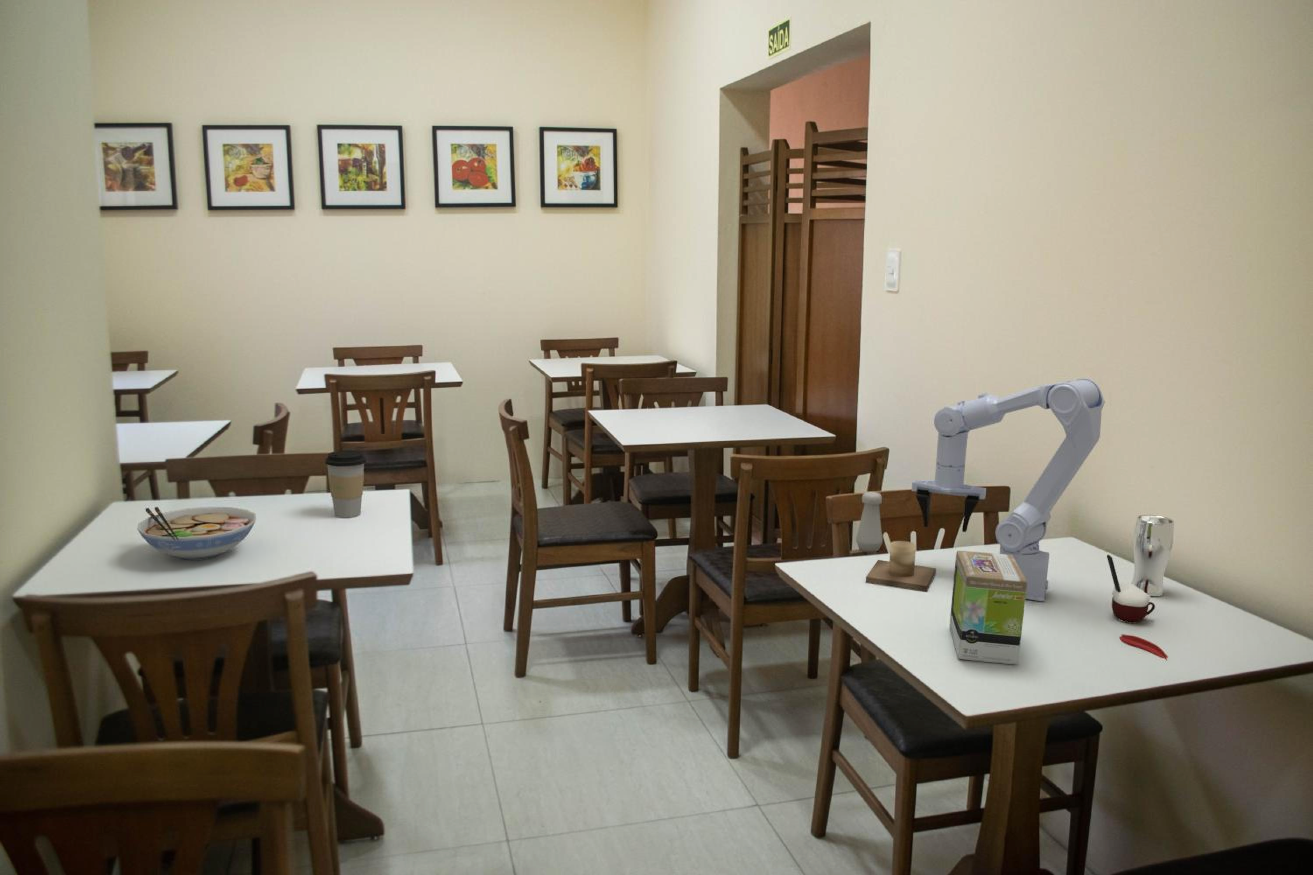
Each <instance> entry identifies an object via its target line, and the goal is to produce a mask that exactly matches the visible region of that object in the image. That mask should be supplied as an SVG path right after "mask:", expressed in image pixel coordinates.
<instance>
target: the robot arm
mask: <svg viewBox="0 0 1313 875" xmlns="http://www.w3.org/2000/svg"><path fill="white" fill-rule="evenodd" d="M1105 403H1106V401H1105V398H1104V396H1103V394H1102V390H1101V389H1100V386H1099V385H1098V384H1097V383H1096V382H1095V381H1094V380H1092V379H1090V378H1084V377H1083V378H1079V379H1076V380H1074V381H1073V380H1068V381H1061V382H1060V381H1059V382H1054V383H1053V382H1052V383H1047V384H1042V385H1038V386H1035V387H1034V386H1033V387H1031V388H1028V389H1026V390H1022V391H1018V392H1017V393H1014V394H1009V395H1008V396H1007V395H1006V396H1004V397H1002V398H1000V397H999V396H997V395H994V394H988V393H987V392H986V393H981V394H978V395H977V398H974V399H972V400H968V401H965V400H960V401H958V402H957V403H956V404H957V405H954V406H944V407H942V408H941V409H939V410H938V411H937V412H936V413H935V416H934V418H933V422H934V423H933V424H934V428H935V429H936V431H937V432H938V436H937V447H936V459H935V476H934V481H933V480H917V479H913V481H912V484H911V492H916V494H915V497H916V501H917V502H918V504H919V507H920V510H921V514H922V519H923V527H925V528H928V527H929V525H930V519H931V518H930V509H931V508H930V507H931V500H932V493H934V494H941V495H950V496H951V495H952V496H959V497H966V498H965V499H964V516H963V523H962V529H961V530H962V532H963V533H966V532H967V531H968V526H969V521H970V519H971V516H972V515H973V512H974V510H975V508H976V507H977V505H978V503H979V501H980V500H985V499H986V495H987V494H986V493H987V488H986V487H980V486H974V485H969V484H965V471H966V459H967V458H966V457H967V447H968V446H967V445H968V438H969V436H968V435H969V432H970V431H974V430H977V429H981V428H984V427H987V426H991V425H994V424H999V423H1001V422H1002V421H1003V419H1004V417H1005V415H1006V414H1008V413H1012V412H1017V411H1021V410H1024V409H1028V408H1032V407H1035V406H1039V407H1041V409H1044V410H1049V409H1050V410H1051V412H1052V414H1053V415H1054V417H1056V419H1057V421H1059V423H1060V424H1061V425H1062V428H1063V430H1064V433H1065V438H1064V439H1063V441H1062V442H1061V443H1060V445H1059V446H1058V448H1057V450H1056V451H1055V453H1054V454H1053V456H1052V457H1051V459H1050V461H1049V462H1048V464H1047V465H1046V467H1045V468H1044V469H1043V471H1042V473H1041V474H1040V475H1039V478H1038V479H1037V480H1036V482H1035V484H1034V485H1033V487H1032V488H1031V490H1030V491H1029V492H1028V494H1027V496H1026V497H1025V499H1024V500H1023V502H1022V503H1021V504H1019V505H1018V506H1017V507H1016V508H1015V509H1013V511H1012V512H1011V513H1010V515H1009V516H1008V517H1007V518H1005V519H1004V520H1001V521H1000V522H999V523H998V524H997V526H996V528H995V538H996V541H997V543H998V545H999V546H1000V547H999V554H1007V555H1013V557H1014V559H1015V560H1016V562H1017V564H1018V566H1019V567H1020V569H1021V571H1022V573H1023V574H1024V577H1025V578H1026V581H1027V589H1026V599H1025V600H1031V601H1038V602H1044V601H1045V598H1046V597H1045V596H1046V591H1047V590H1048V588H1049V580H1048V574H1049V573H1048V572H1049V563H1050V552H1048V551H1042V550H1040V543H1039V542H1041V541H1042V540H1043V539H1044V538H1045V536H1046V534H1047V528H1048V527H1047V526H1048V523H1049V521H1050V520H1051V518H1052V516H1051V512H1052V510H1053V508H1054V507H1055V505H1056V504H1057V503H1058V501H1059V499H1060V498H1061V496H1062V495H1063V494H1064V492H1065V491H1066V489H1067V488H1068V486H1069V484H1070V483H1071V482H1072V480H1073V479H1074V478H1075V476H1076V474H1077V473H1078V471H1079V470H1080V469H1081V467H1082V466H1083V464H1084V463H1085V461H1086V460H1087V458H1088V457H1089V455H1090V454H1091V452H1092V451H1093V449H1094V448H1095V446H1096V445H1097V444H1098V442H1099V440H1100V437H1101V427H1102V425H1101V424H1102V412H1103V411H1102V410H1103V408H1104V405H1105Z"/></svg>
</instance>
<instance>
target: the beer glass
mask: <svg viewBox="0 0 1313 875" xmlns="http://www.w3.org/2000/svg"><path fill="white" fill-rule="evenodd" d="M1174 524H1175V520H1173V519H1171V518H1169V517H1166V516H1161V515H1154V514H1140V515H1138V516H1137V518H1136V523H1135V528H1134V532H1133V534H1134V535H1133V539H1132V540H1133V542H1132V546H1133V549H1132V550H1133V564H1134V569H1133V570H1134V571H1133V573H1134V574H1133V578H1132V581H1131V582H1130V583H1131V584H1133V585H1135V586H1136V587H1138V588H1139V589H1141V590H1143V591H1144V592H1145V593H1146V594H1148V595H1149V596H1158V595H1161V594H1163V593H1164V594H1165V592H1164V591H1165V590H1164V576H1165V571H1166V568H1167V565H1168V563H1169V559H1170V556H1171V553H1172V548H1173V544H1174V532H1175V531H1174V530H1175V529H1174V528H1175V525H1174ZM1164 594H1163V595H1164Z"/></svg>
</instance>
